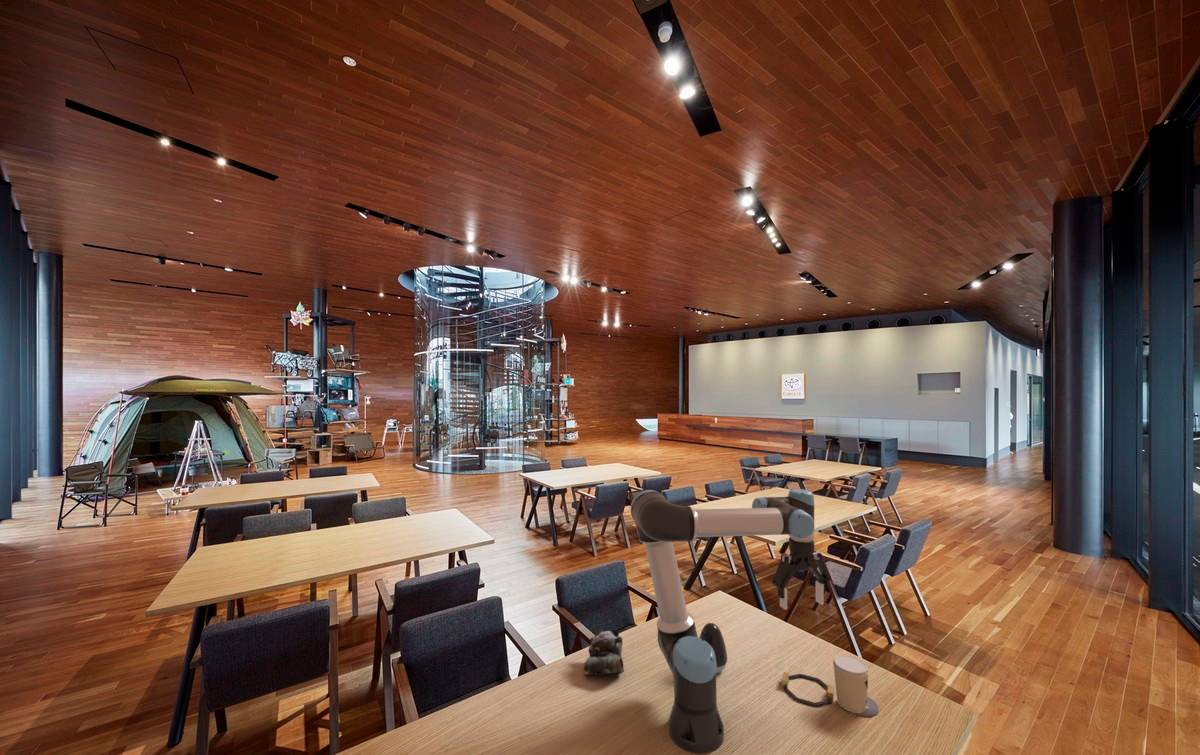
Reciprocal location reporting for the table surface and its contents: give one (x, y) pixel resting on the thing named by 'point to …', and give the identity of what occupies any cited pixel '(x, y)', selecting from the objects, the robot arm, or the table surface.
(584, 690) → the table surface
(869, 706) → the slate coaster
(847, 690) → the coffee cup
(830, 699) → the socket ring
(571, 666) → the table surface
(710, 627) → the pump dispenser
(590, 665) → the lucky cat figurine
